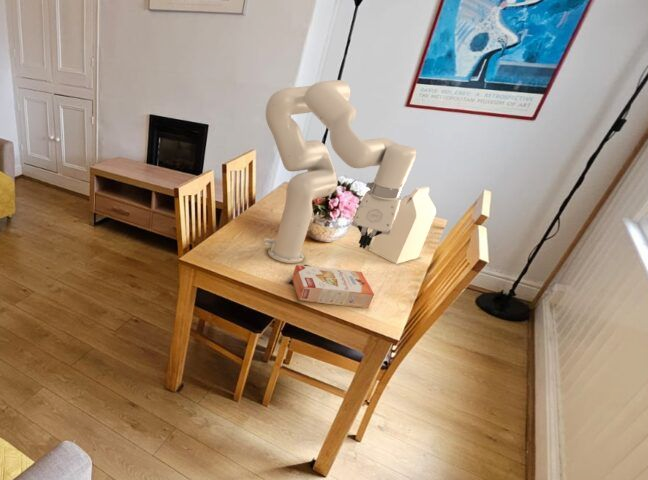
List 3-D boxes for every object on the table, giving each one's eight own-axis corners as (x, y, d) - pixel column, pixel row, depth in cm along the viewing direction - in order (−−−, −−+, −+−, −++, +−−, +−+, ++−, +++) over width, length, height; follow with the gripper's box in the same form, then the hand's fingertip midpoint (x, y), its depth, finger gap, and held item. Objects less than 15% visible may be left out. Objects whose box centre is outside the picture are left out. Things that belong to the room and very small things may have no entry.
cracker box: (375, 292, 136) (303, 286, 140) (368, 309, 140) (298, 301, 143) (362, 270, 148) (295, 264, 151) (355, 285, 151) (290, 279, 154)
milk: (396, 263, 164) (426, 196, 149) (368, 250, 173) (395, 185, 158) (418, 257, 168) (450, 191, 153) (390, 244, 177) (418, 180, 162)
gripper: (354, 187, 131) (334, 243, 142) (413, 200, 123) (386, 258, 134) (361, 180, 136) (341, 235, 146) (417, 193, 128) (392, 249, 139)
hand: (363, 246), depth 140 cm, fingers closed
